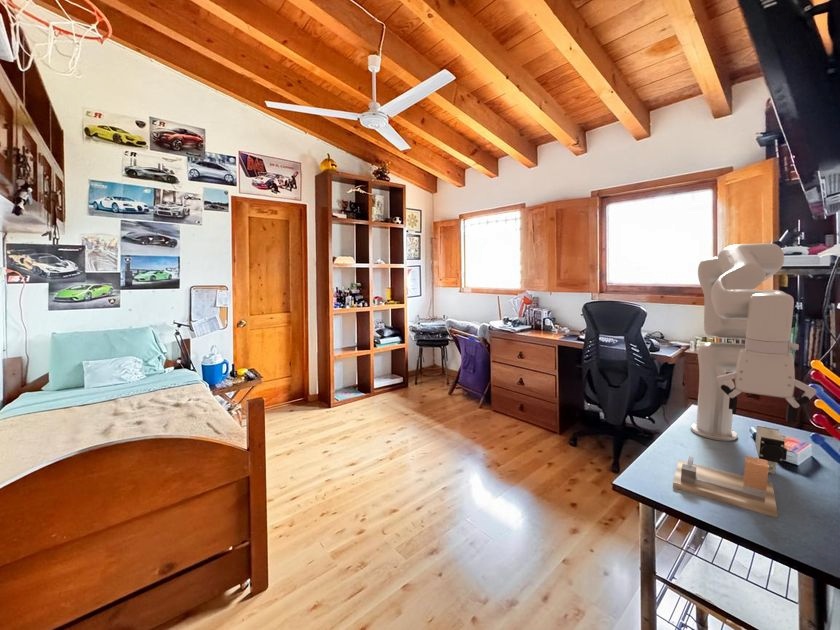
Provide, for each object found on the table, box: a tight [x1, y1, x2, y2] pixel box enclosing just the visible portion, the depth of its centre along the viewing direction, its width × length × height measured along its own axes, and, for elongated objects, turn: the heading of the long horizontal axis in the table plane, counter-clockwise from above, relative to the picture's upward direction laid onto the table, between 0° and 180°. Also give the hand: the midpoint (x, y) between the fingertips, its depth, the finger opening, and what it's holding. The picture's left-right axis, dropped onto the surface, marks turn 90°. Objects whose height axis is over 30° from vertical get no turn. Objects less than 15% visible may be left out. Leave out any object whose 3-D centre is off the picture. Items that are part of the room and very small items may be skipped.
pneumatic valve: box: [754, 425, 788, 475], centre depth 105 cm, size 6×12×12 cm, turn 144°
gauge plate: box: [672, 455, 778, 518], centre depth 98 cm, size 14×20×5 cm
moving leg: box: [743, 455, 769, 498], centre depth 93 cm, size 9×4×9 cm, turn 140°
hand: (760, 417), depth 89 cm, fingers open, 9 cm apart
